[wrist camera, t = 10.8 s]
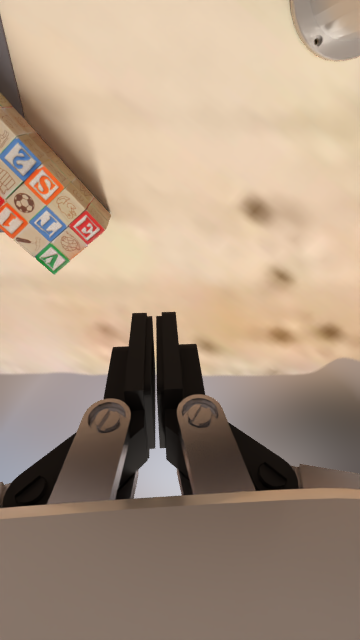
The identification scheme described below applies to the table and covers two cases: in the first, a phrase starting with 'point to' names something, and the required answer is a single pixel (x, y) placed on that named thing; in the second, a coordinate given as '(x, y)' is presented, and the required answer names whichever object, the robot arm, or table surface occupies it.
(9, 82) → the mat
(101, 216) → the stack of blocks
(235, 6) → the table surface
